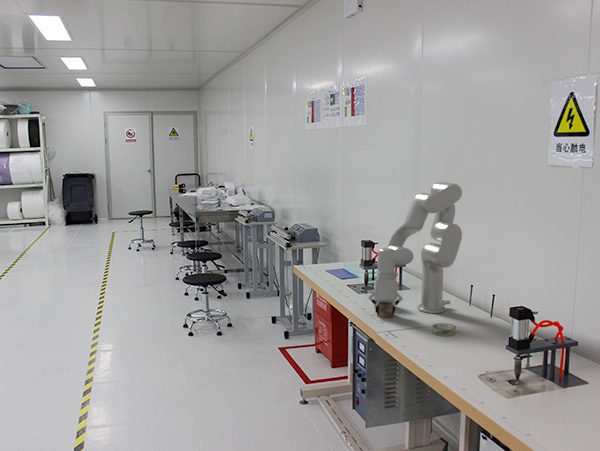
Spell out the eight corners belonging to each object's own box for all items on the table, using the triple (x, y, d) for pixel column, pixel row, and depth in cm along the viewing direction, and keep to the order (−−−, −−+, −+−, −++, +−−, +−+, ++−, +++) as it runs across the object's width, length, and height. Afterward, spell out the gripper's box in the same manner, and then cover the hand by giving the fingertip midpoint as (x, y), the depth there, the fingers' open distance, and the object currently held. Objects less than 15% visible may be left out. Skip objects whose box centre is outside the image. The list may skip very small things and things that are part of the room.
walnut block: (391, 313, 247) (391, 301, 246) (392, 317, 241) (392, 304, 240) (378, 313, 247) (378, 300, 246) (378, 317, 241) (379, 304, 241)
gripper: (404, 273, 244) (403, 312, 247) (366, 273, 246) (365, 311, 248) (406, 277, 237) (405, 317, 240) (367, 277, 238) (366, 316, 241)
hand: (385, 313), depth 244 cm, fingers closed on walnut block, 6 cm apart
